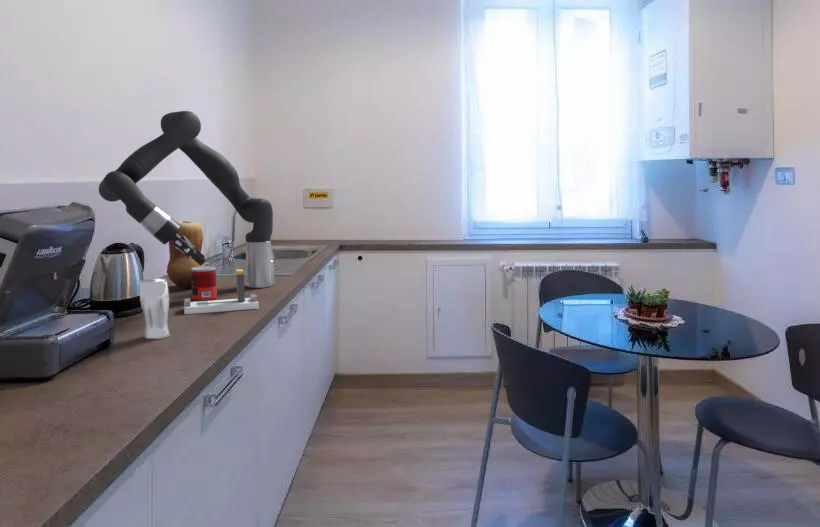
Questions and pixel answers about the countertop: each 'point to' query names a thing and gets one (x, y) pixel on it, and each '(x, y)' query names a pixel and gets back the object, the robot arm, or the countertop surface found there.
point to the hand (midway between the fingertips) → (203, 261)
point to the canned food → (204, 283)
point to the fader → (240, 285)
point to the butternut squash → (184, 255)
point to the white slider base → (220, 305)
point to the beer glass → (155, 307)
